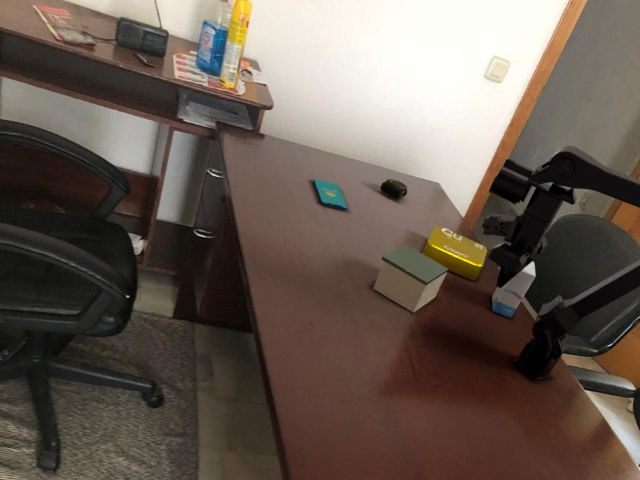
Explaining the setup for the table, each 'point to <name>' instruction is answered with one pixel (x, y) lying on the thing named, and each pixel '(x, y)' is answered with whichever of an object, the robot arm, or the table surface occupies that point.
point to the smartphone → (329, 194)
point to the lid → (415, 264)
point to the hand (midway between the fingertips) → (498, 286)
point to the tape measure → (394, 188)
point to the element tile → (455, 252)
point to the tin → (406, 288)
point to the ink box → (513, 291)
